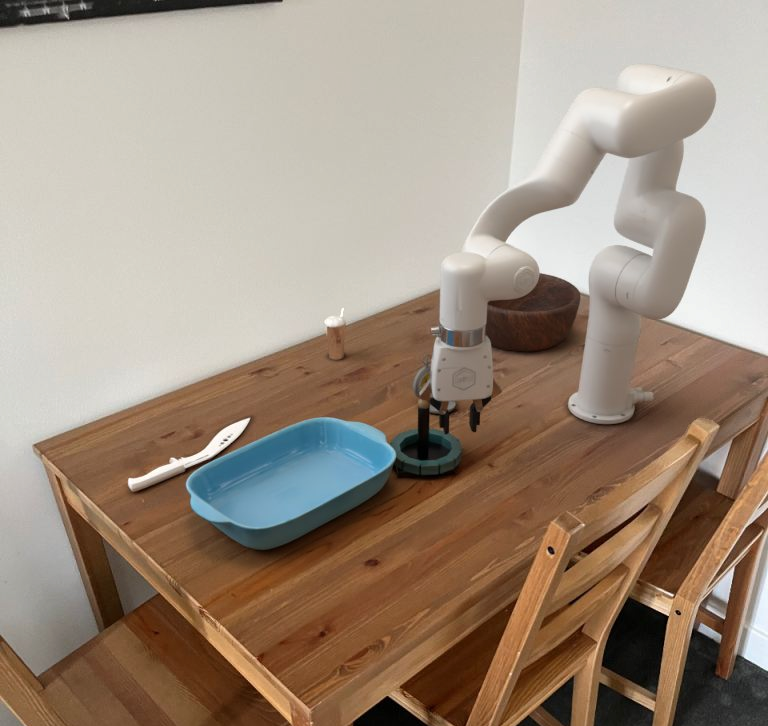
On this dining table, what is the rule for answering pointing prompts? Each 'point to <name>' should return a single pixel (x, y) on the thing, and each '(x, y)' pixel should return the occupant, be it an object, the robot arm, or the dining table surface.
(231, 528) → the casserole dish
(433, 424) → the dining table surface
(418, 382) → the pocket watch
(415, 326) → the dining table surface
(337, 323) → the milkshake
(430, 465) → the ring
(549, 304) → the wooden bowl
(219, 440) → the knife
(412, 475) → the stand
